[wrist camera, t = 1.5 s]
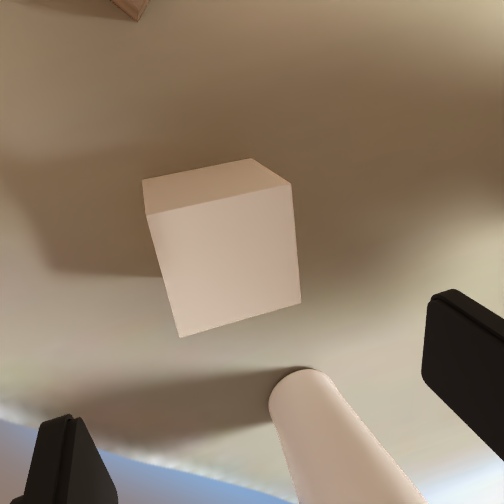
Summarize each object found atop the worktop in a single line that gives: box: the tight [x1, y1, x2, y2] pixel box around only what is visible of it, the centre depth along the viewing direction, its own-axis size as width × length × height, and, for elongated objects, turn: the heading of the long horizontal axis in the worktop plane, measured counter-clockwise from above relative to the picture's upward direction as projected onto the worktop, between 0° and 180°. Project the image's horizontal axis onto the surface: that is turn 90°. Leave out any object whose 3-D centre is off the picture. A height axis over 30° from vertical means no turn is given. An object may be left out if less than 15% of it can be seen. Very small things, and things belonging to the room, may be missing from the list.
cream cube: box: [142, 158, 301, 338], centre depth 19 cm, size 6×6×6 cm
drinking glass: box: [268, 369, 429, 504], centre depth 23 cm, size 7×7×15 cm
